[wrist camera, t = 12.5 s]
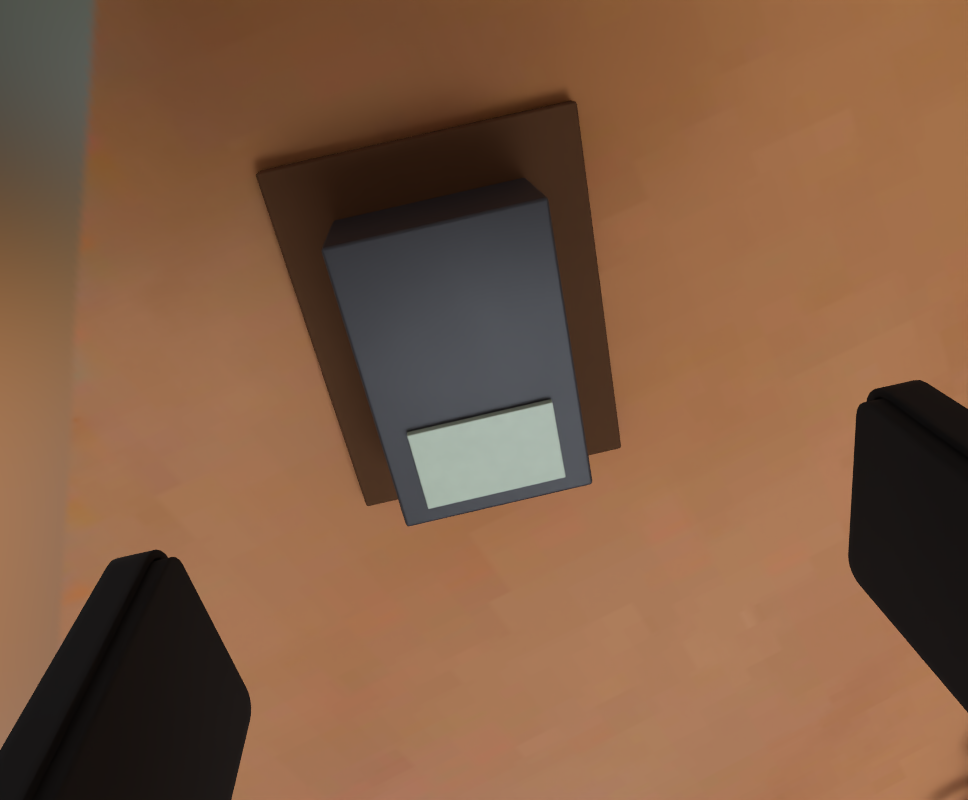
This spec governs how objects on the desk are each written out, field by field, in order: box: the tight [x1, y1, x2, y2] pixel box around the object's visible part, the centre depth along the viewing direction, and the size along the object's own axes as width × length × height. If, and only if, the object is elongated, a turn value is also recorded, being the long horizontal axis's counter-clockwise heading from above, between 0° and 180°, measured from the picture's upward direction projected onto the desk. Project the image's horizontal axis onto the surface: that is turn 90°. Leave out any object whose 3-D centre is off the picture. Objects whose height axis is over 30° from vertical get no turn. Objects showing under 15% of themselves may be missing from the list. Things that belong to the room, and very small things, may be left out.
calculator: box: [321, 178, 592, 526], centre depth 18 cm, size 8×5×3 cm, turn 11°
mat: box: [256, 101, 621, 506], centre depth 19 cm, size 10×8×1 cm
